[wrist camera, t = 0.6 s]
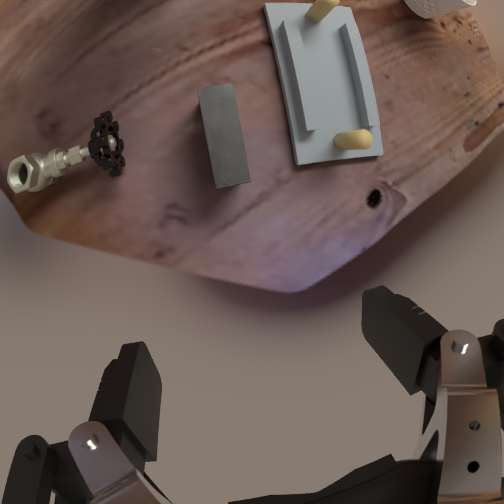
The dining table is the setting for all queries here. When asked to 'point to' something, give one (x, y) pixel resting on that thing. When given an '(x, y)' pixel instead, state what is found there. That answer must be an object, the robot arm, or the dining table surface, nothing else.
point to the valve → (68, 158)
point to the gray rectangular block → (223, 135)
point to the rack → (324, 81)
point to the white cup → (437, 6)
